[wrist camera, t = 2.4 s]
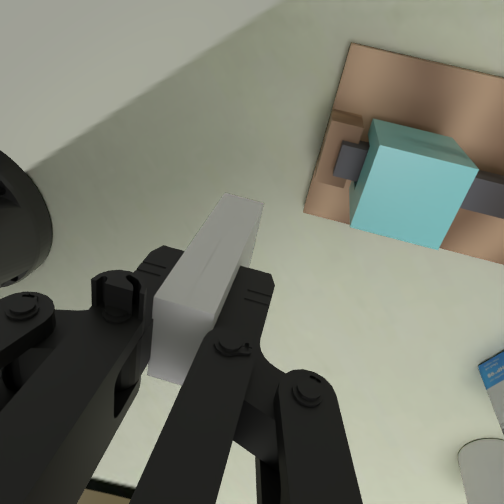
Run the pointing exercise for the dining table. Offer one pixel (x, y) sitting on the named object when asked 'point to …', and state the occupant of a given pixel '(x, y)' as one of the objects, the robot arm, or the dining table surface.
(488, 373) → the ink box
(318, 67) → the dining table surface
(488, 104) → the cradle board
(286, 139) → the dining table surface
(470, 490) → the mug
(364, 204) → the sleeve
